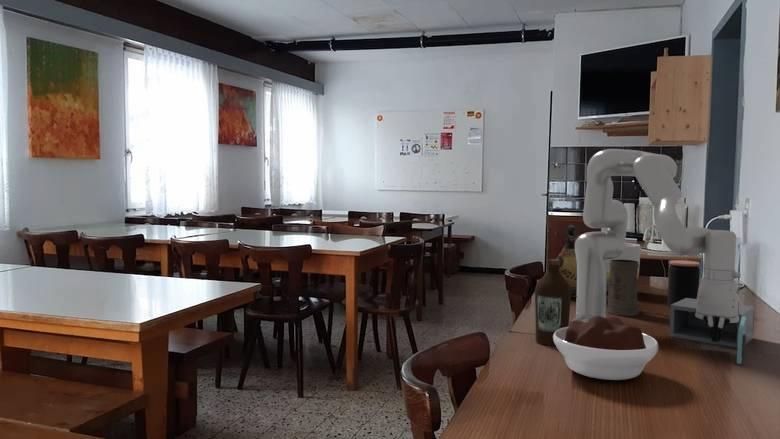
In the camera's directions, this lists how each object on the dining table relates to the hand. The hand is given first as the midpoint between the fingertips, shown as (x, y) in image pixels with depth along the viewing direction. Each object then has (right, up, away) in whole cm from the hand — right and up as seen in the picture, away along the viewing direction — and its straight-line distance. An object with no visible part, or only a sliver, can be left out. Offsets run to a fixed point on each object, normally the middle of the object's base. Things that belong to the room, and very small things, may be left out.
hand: (715, 340), depth 167 cm
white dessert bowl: (-36, -6, -14) cm, 39 cm away
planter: (+8, +1, +97) cm, 98 cm away
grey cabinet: (+11, -3, +23) cm, 25 cm away
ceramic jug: (-15, +1, +90) cm, 91 cm away
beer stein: (-2, -1, +59) cm, 59 cm away
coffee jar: (+23, -1, +66) cm, 69 cm away
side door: (+8, -4, +2) cm, 10 cm away
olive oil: (-41, -4, +16) cm, 44 cm away
